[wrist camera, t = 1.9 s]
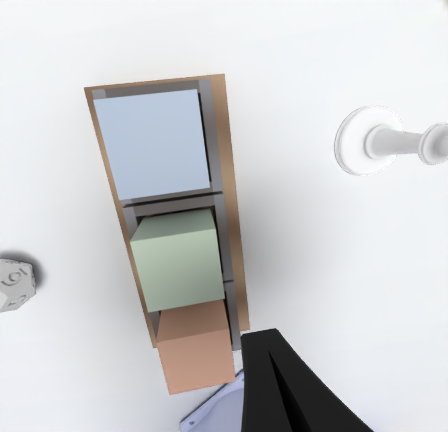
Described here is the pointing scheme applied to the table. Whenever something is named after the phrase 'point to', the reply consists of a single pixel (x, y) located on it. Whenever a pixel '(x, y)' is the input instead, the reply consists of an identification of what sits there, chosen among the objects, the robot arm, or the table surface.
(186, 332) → the peach matte cube
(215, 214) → the board
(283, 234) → the table surface
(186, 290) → the pale green cube
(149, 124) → the block
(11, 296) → the game die
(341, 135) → the chess piece
